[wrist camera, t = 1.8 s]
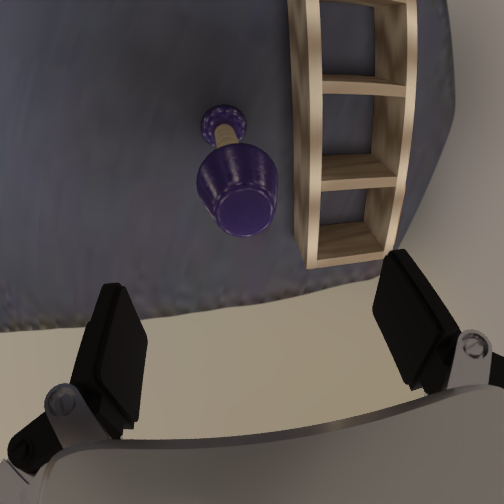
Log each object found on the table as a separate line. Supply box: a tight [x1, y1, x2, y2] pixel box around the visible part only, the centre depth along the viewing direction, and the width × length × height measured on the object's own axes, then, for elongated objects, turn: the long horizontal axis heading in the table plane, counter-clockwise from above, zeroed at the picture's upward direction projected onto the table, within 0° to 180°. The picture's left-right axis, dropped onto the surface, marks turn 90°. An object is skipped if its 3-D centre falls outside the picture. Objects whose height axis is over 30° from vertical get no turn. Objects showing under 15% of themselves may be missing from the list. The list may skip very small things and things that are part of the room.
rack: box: [287, 0, 417, 269], centre depth 26 cm, size 26×10×6 cm, turn 4°
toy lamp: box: [197, 105, 278, 237], centre depth 22 cm, size 5×5×17 cm
